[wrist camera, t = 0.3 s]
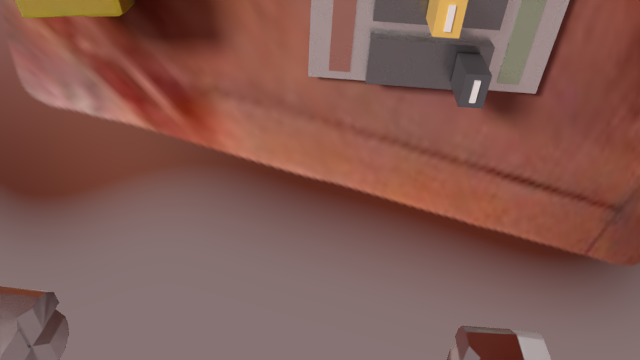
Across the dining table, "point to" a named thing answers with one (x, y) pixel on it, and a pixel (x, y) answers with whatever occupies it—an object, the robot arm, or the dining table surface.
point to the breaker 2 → (470, 80)
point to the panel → (418, 29)
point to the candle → (73, 8)
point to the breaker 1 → (446, 17)
